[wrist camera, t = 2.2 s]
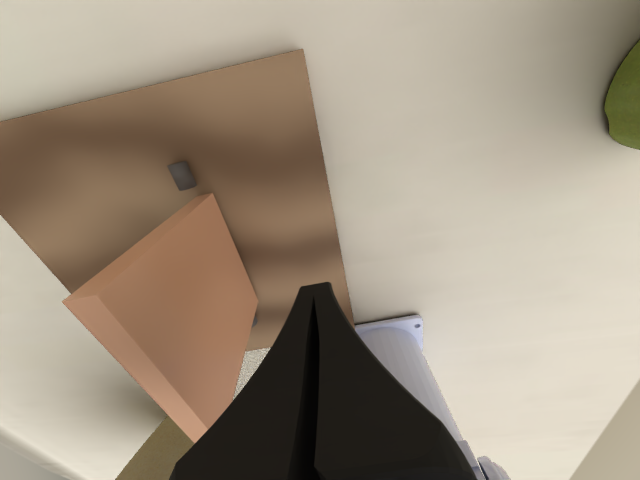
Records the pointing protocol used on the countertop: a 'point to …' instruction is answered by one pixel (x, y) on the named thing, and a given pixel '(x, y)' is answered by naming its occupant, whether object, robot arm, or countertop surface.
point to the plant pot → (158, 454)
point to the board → (182, 179)
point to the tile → (176, 314)
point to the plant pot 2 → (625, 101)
